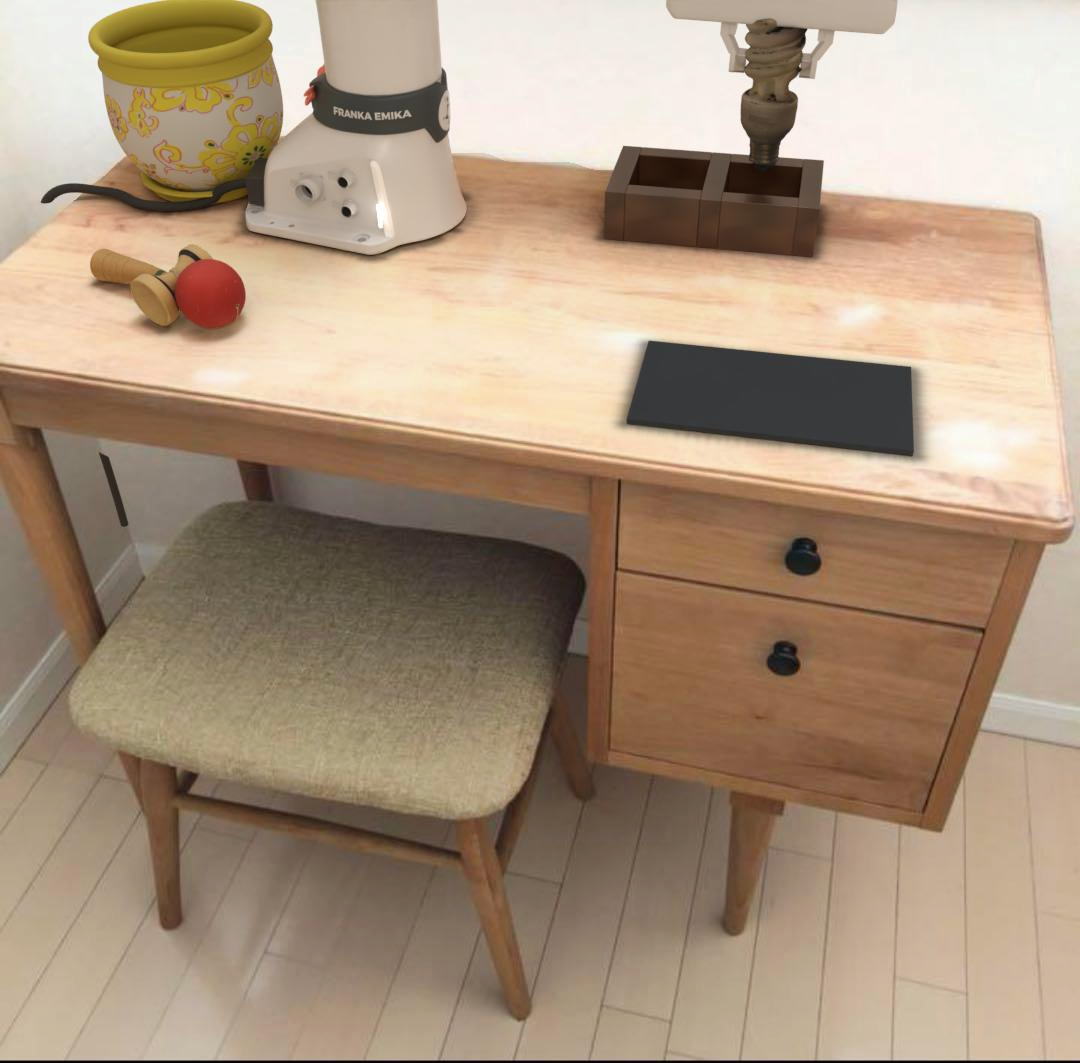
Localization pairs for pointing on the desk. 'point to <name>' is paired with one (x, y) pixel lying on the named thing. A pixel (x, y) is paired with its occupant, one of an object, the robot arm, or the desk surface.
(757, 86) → the light bulb
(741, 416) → the mat
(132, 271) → the kendama
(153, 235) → the desk surface
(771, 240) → the stand
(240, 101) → the flowerpot
